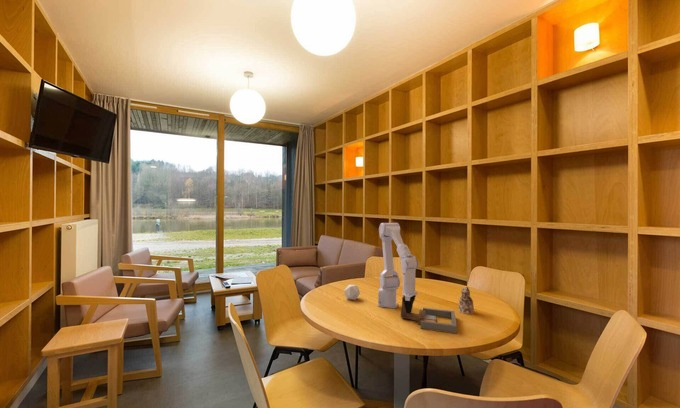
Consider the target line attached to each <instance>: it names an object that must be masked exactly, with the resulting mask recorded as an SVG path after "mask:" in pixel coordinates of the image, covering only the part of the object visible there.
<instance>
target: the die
mask: <svg viewBox="0 0 680 408" xmlns="http://www.w3.org/2000/svg"><path fill="white" fill-rule="evenodd" d="M343 292H344V295H345V298H346V300H350V301H351V300H352V301H357V299H358V298H359V296H360V294H361V293H360V289H359V287H358V285H357V284H347V286H346V287H345V289H344V290H343Z"/></svg>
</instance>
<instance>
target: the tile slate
mask: <svg viewBox="0 0 680 408" xmlns="http://www.w3.org/2000/svg"><path fill="white" fill-rule="evenodd" d="M436 317H437V316H431V315H425V316H424V319H425V320H433V321H435V322H436V319H437V318H436Z"/></svg>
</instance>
